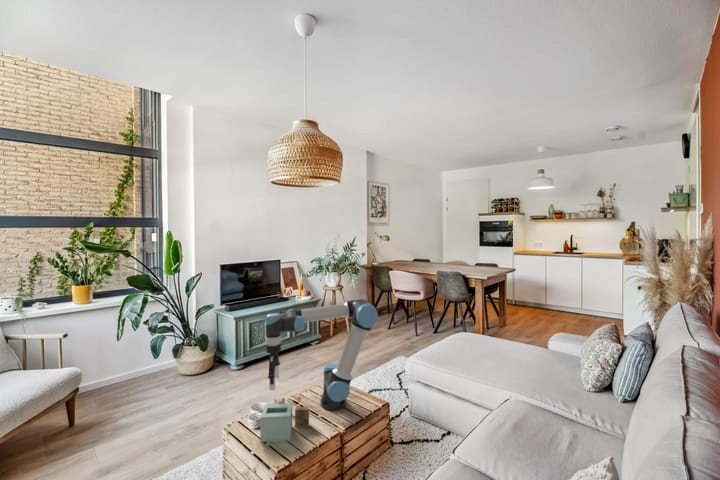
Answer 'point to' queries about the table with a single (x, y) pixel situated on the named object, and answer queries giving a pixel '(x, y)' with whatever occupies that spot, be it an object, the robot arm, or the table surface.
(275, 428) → the box
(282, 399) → the game die
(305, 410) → the brown rectangular block
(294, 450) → the table surface
